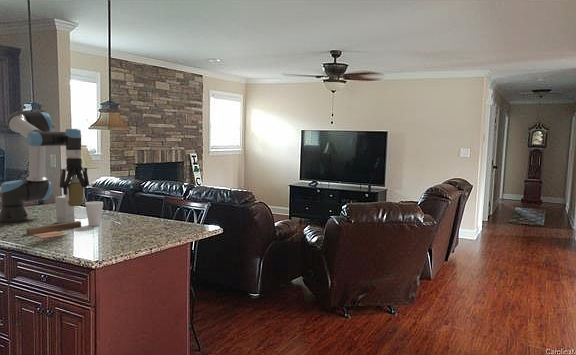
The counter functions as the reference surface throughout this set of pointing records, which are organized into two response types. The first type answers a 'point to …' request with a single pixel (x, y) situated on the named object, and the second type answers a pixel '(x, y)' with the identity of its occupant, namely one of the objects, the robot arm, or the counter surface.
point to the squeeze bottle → (75, 192)
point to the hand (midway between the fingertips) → (74, 199)
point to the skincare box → (64, 210)
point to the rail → (52, 229)
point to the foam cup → (94, 213)
